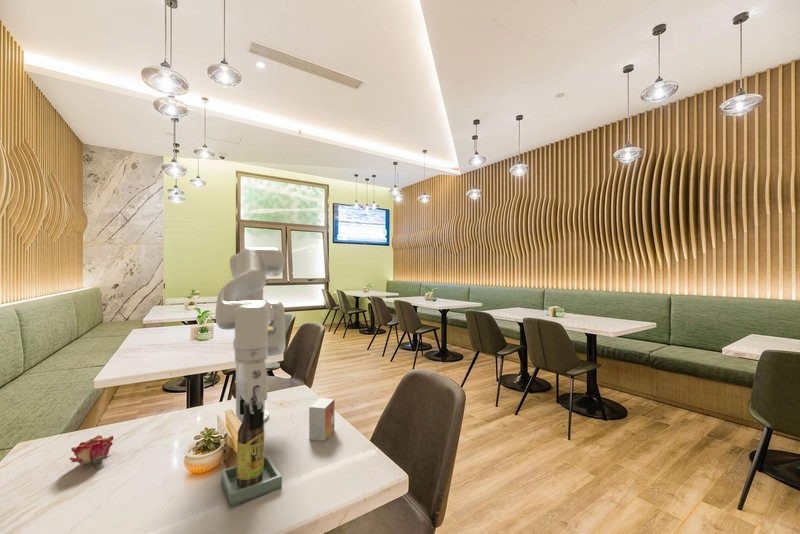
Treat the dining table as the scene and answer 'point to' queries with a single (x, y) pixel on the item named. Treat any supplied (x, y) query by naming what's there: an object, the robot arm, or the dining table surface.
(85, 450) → the flower
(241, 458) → the sauce bottle
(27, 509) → the dining table surface
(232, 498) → the tray
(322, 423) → the small box
